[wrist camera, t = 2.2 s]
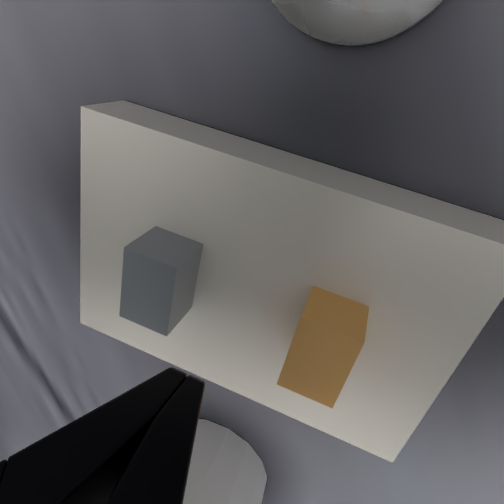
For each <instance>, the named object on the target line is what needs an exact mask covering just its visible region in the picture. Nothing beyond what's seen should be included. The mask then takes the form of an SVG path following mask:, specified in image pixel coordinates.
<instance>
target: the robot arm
mask: <svg viewBox="0 0 504 504" xmlns="http://www.w3.org/2000/svg"><path fill="white" fill-rule="evenodd" d="M204 387H205V382H204V381H202V380H200V379H198V378H196V377H193V376H187V374H186V373H184V372H182V371H180V370H178V369H176V368H168V369H166V370H164V371H163V372H161V373H159V374H157V375H156V376H154V377H152V378H150V379H148V380H147V381H145V382H143V383H141V384H139V385H138V386H136V387H134V388H132V389H130V390H129V391H127V392H125V393H123V394H121V395H120V396H118V397H116V398H114V399H112V400H111V401H109V402H107V403H105V404H103V405H102V406H100V407H98V408H96V409H95V410H93V411H91V412H89V413H87V414H86V415H84V416H82V417H80V418H78V419H77V420H75V421H73V422H71V423H69V424H68V425H66V426H64V427H62V428H60V429H59V430H57V431H55V432H53V433H51V434H50V435H48V436H46V437H44V438H42V439H41V440H39V441H37V442H35V443H34V444H32V445H30V446H28V447H26V448H25V449H23V450H21V451H19V452H17V453H16V454H14V455H12V456H10V457H9V458H8V461H7V460H3V461H1V462H0V504H183V500H184V495H185V489H186V484H187V478H188V473H189V468H190V462H191V457H192V452H193V446H194V441H195V435H196V430H197V425H198V419H199V414H200V409H201V403H202V398H203V392H204Z"/></svg>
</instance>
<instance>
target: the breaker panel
mask: <svg viewBox="0 0 504 504" xmlns="http://www.w3.org/2000/svg"><path fill="white" fill-rule="evenodd" d="M503 297H504V220H501V219H498V218H495V217H492V216H489V215H486V214H482V213H479V212H476V211H473V210H470V209H467V208H463V207H460V206H457V205H454V204H451V203H448V202H444V201H441V200H438V199H435V198H432V197H429V196H425V195H422V194H419V193H416V192H413V191H410V190H406V189H403V188H400V187H397V186H394V185H391V184H387V183H384V182H381V181H378V180H375V179H372V178H368V177H365V176H362V175H359V174H356V173H353V172H349V171H346V170H343V169H340V168H337V167H334V166H330V165H327V164H324V163H321V162H318V161H315V160H311V159H308V158H305V157H302V156H299V155H296V154H292V153H289V152H286V151H283V150H280V149H277V148H273V147H270V146H267V145H264V144H261V143H258V142H254V141H251V140H248V139H245V138H242V137H239V136H235V135H232V134H229V133H226V132H223V131H220V130H216V129H213V128H210V127H207V126H204V125H200V124H197V123H194V122H191V121H188V120H185V119H181V118H178V117H175V116H172V115H169V114H166V113H162V112H159V111H156V110H153V109H150V108H147V107H143V106H140V105H137V104H134V103H131V102H128V101H124V100H122V101H115V102H108V103H101V104H93V105H86V106H81V204H80V323H82V324H84V325H86V326H88V327H91V328H93V329H95V330H97V331H99V332H102V333H104V334H106V335H108V336H111V337H113V338H115V339H117V340H120V341H122V342H124V343H126V344H129V345H131V346H133V347H135V348H137V349H140V350H142V351H144V352H146V353H149V354H151V355H153V356H155V357H158V358H160V359H162V360H164V361H167V362H169V363H171V364H173V365H175V366H178V367H180V368H182V369H184V370H187V371H189V372H191V373H193V374H196V375H198V376H200V377H202V378H205V379H207V380H209V381H211V382H213V383H216V384H218V385H220V386H222V387H225V388H227V389H229V390H231V391H234V392H236V393H238V394H240V395H242V396H245V397H247V398H249V399H251V400H254V401H256V402H258V403H260V404H263V405H265V406H267V407H269V408H272V409H274V410H276V411H278V412H280V413H283V414H285V415H287V416H289V417H292V418H294V419H296V420H298V421H301V422H303V423H305V424H307V425H310V426H312V427H314V428H316V429H318V430H321V431H323V432H325V433H327V434H330V435H332V436H334V437H336V438H339V439H341V440H343V441H345V442H348V443H350V444H352V445H354V446H356V447H359V448H361V449H363V450H365V451H368V452H370V453H372V454H374V455H377V456H379V457H381V458H383V459H386V460H388V461H390V462H392V463H393V461H394V460H395V458H396V457H397V455H398V454H399V453H400V451H401V450H402V448H403V447H404V445H405V444H406V442H407V441H408V439H409V438H410V436H411V435H412V433H413V432H414V430H415V429H416V427H417V426H418V424H419V423H420V421H421V420H422V418H423V417H424V415H425V414H426V412H427V411H428V409H429V408H430V406H431V405H432V403H433V402H434V400H435V399H436V397H437V396H438V394H439V393H440V391H441V390H442V388H443V387H444V385H445V384H446V382H447V381H448V379H449V378H450V376H451V375H452V374H453V372H454V371H455V369H456V368H457V366H458V365H459V363H460V362H461V360H462V359H463V357H464V356H465V354H466V353H467V351H468V350H469V348H470V347H471V345H472V344H473V342H474V341H475V339H476V338H477V336H478V335H479V333H480V332H481V330H482V329H483V327H484V326H485V324H486V323H487V321H488V320H489V318H490V317H491V315H492V314H493V312H494V311H495V309H496V308H497V306H498V305H499V303H500V302H501V300H502V299H503Z"/></svg>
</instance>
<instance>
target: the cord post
mask: <svg viewBox="0 0 504 504" xmlns="http://www.w3.org/2000/svg"><path fill="white" fill-rule="evenodd" d="M271 1H272V3H273V4H274V6H275V7H276V8H277V9H278V11H279V12H280V13H281V14H282V15H283V16H284V17H285V18H286V19H287V20H288V21H289V22H290V23H291V24H292V25H294V26H295V27H296V28H298V29H299V30H300V31H302V32H304V33H306V34H308V35H309V36H311V37H313V38H316V39H319V40H322V41H325V42H329V43H333V44H338V45H347V46H359V45H368V44H373V43H377V42H381V41H384V40H387V39H389V38H392V37H394V36H397V35H399V34H401V33H402V32H404V31H406V30H408V29H410V28H412V27H413V26H414V25H416V24H417V23H419V22H420V21H421V20H423V19H424V18H425V17H427V16H428V15H429V14H430V13H431V12H432V11H433V10H434V9H436V8H437V7H438V6H439V5H440V4H441V2H442V1H443V0H271Z"/></svg>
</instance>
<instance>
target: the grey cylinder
mask: <svg viewBox="0 0 504 504" xmlns="http://www.w3.org/2000/svg"><path fill="white" fill-rule="evenodd" d="M266 481H267V475H266V472H265V469H264V465H263V462H262V460H261V459H260V457H259V456H258V455H257V453H256V452H255V451H254V450H253V448H252V447H251V446H250V445H249V443H248V442H246V441H245V440H243V439H242V438H241V437H239V436H238V435H237V434H235V433H234V432H233V431H231V430H230V429H228V428H226V427H223V426H221V425H218V424H216V423H213V422H211V421H208V420H204V419H198V425H197V430H196V435H195V441H194V446H193V452H192V457H191V462H190V468H189V473H188V478H187V484H186V489H185V495H184V500H183V504H262V499H263V495H264V490H265V486H266Z"/></svg>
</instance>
